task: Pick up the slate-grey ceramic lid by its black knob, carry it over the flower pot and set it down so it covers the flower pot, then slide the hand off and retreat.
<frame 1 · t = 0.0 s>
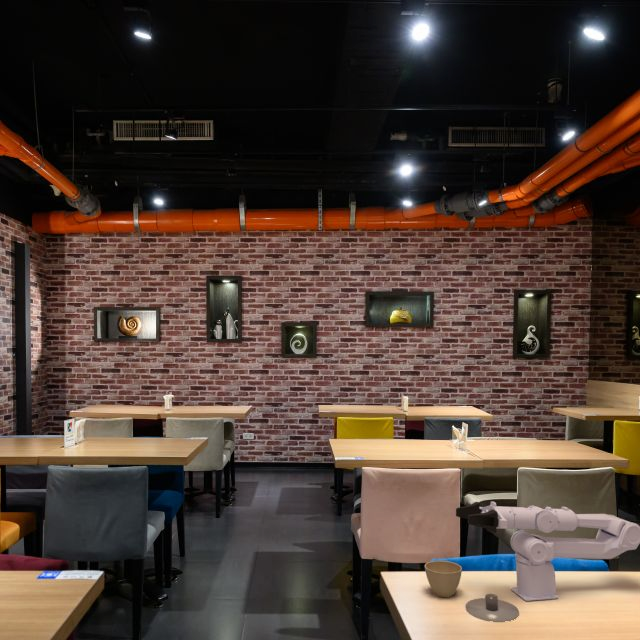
hand: (462, 515, 143), 22 cm above the table, tool horizontal, fingers open, 7 cm apart
lid: (492, 611, 135), on the table
flower pot: (444, 594, 145), on the table
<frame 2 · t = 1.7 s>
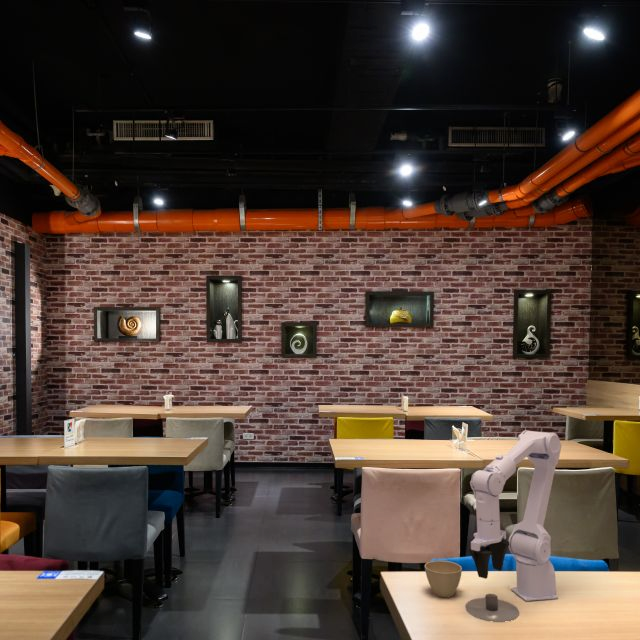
hand: (490, 573, 136), 9 cm above the table, tool pointing down, fingers open, 7 cm apart
nothing on the table moved.
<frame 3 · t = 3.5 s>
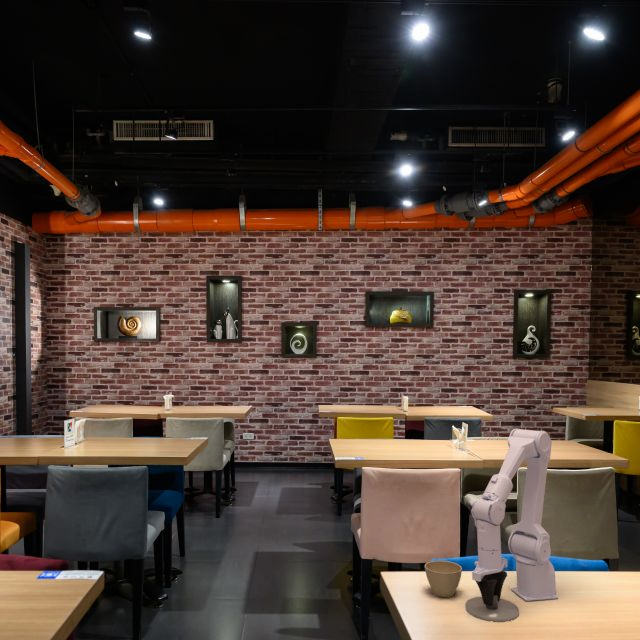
hand: (491, 602, 135), 2 cm above the table, tool pointing down, fingers closed on lid, 3 cm apart
lid: (491, 610, 135), on the table, touching gripper
everything else where it was.
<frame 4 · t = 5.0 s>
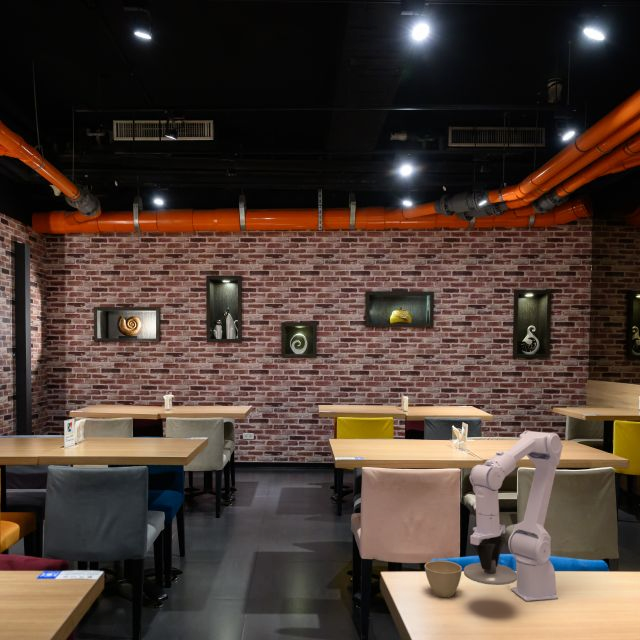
hand: (489, 567, 136), 10 cm above the table, tool pointing down, fingers closed on lid, 3 cm apart
lid: (490, 574, 136), point 9 cm above the table, touching gripper
everything else where it was.
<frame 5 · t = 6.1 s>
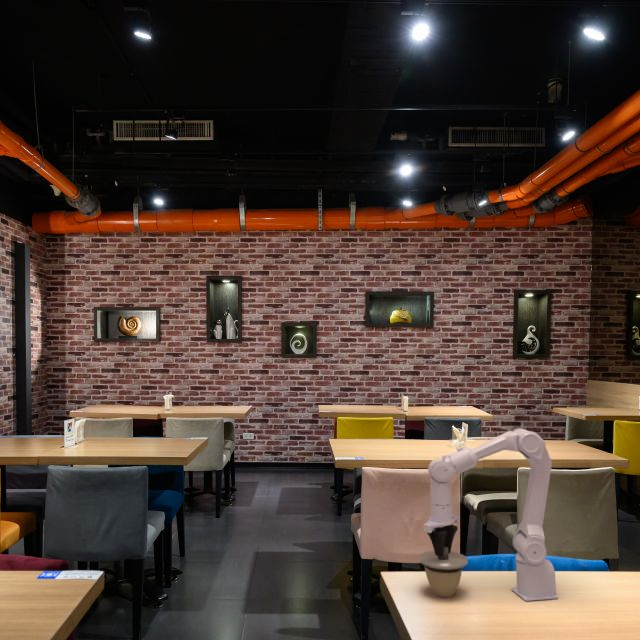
hand: (442, 554, 146), 10 cm above the table, tool pointing down, fingers closed on lid, 3 cm apart
lid: (443, 561, 146), point 9 cm above the table, touching gripper
everything else where it was.
when the fingers open (10 cm above the table, at t = 6.8 s): lid stays where it is, resting on flower pot.
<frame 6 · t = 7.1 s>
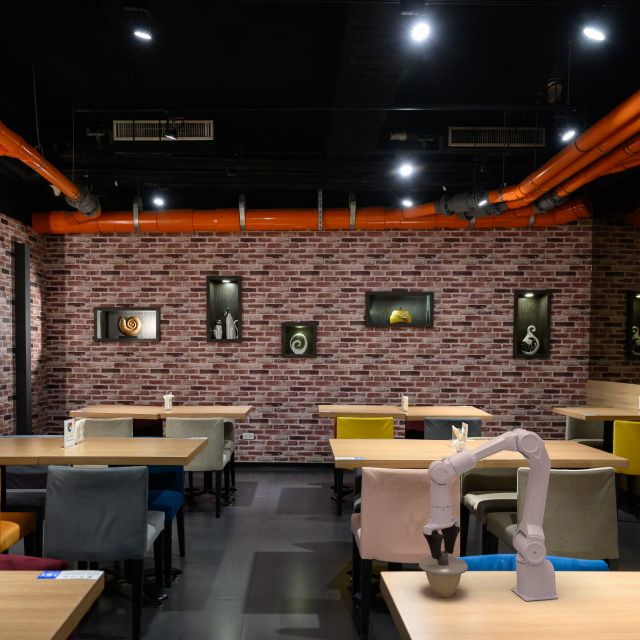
hand: (442, 555, 146), 10 cm above the table, tool pointing down, fingers open, 6 cm apart
lid: (443, 566, 146), point 7 cm above the table, touching flower pot
flower pot: (444, 594, 145), on the table, touching lid
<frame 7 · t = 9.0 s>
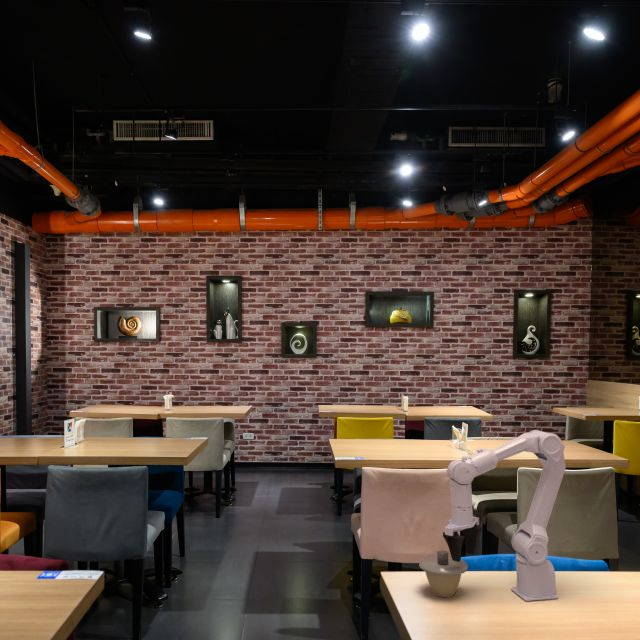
hand: (463, 557, 144), 10 cm above the table, tool pointing down, fingers open, 7 cm apart
nothing on the table moved.
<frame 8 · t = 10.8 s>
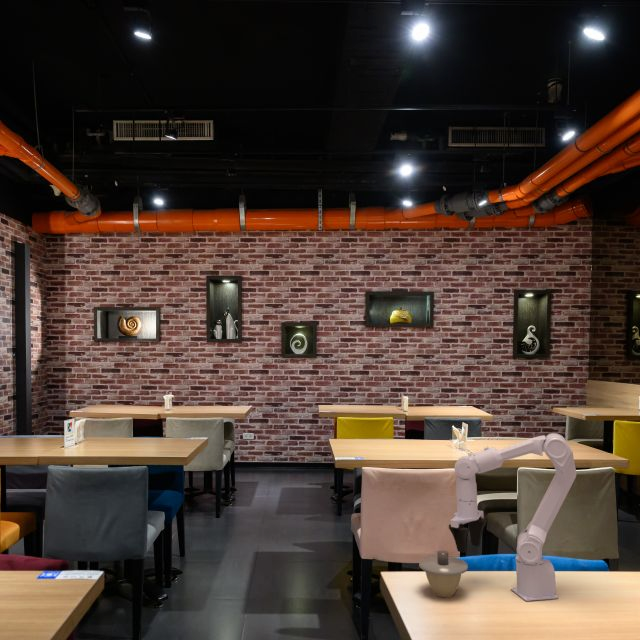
hand: (468, 548, 151), 10 cm above the table, tool pointing down, fingers open, 7 cm apart
nothing on the table moved.
at the end: lid 0.0 cm from the flower pot (horizontally); lid point 7.1 cm above the table; the gripper is holding nothing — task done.
